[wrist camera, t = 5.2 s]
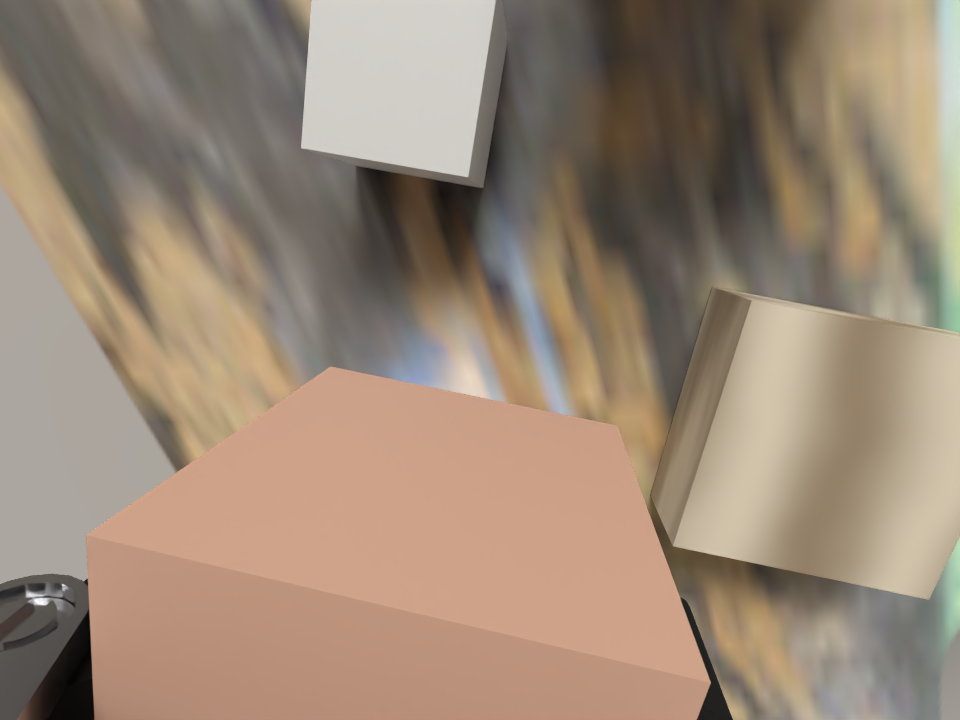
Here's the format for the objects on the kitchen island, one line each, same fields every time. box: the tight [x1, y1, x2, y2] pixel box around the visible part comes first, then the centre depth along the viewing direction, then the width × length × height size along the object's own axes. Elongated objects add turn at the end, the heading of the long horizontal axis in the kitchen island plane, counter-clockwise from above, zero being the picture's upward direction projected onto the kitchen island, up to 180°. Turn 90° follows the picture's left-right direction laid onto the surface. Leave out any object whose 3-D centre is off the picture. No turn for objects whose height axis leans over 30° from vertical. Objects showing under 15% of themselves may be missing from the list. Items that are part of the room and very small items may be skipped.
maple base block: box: [650, 287, 960, 599], centre depth 21 cm, size 10×10×4 cm
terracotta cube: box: [86, 367, 711, 720], centre depth 8 cm, size 6×6×6 cm
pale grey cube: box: [301, 0, 507, 188], centre depth 18 cm, size 6×6×6 cm
